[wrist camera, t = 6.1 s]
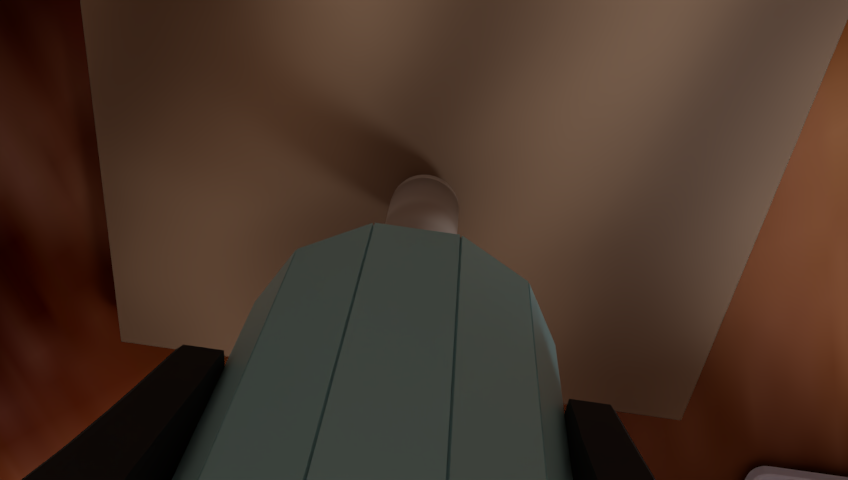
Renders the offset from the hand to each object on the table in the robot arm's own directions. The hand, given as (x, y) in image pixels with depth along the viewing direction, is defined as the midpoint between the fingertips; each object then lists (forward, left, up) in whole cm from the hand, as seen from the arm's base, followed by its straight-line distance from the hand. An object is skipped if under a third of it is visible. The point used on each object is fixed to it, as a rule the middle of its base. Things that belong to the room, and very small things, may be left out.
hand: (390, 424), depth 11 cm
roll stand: (0, 0, -9) cm, 9 cm away
